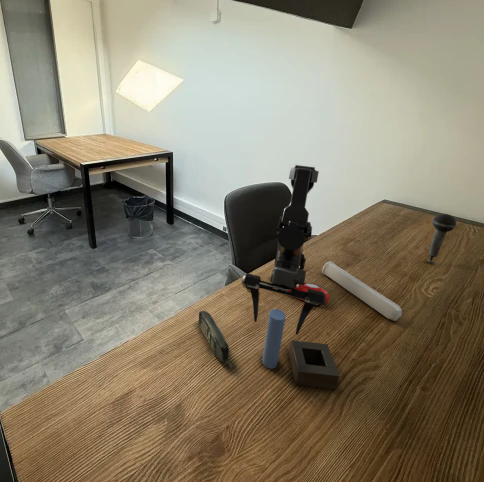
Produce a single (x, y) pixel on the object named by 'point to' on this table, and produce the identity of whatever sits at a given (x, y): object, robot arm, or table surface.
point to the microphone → (440, 232)
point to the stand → (313, 374)
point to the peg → (273, 338)
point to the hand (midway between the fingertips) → (275, 328)
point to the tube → (363, 291)
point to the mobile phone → (214, 336)
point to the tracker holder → (313, 287)
